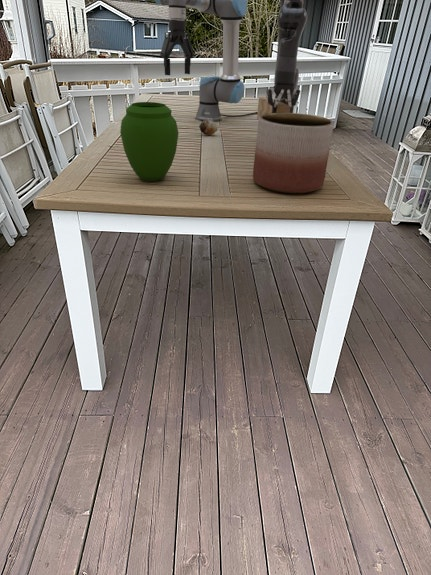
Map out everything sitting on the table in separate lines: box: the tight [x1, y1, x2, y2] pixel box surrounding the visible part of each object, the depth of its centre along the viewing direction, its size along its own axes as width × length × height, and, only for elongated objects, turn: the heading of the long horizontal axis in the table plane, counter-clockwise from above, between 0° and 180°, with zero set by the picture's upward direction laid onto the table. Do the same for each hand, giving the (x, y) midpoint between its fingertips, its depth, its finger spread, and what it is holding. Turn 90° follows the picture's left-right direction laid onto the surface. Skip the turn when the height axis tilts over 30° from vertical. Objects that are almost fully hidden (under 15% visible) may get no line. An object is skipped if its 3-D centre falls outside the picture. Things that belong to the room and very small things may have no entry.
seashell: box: [198, 119, 219, 136], centre depth 209 cm, size 10×6×8 cm, turn 97°
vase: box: [119, 101, 179, 182], centre depth 140 cm, size 20×20×24 cm
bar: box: [256, 96, 291, 121], centre depth 174 cm, size 25×5×9 cm, turn 14°
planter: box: [252, 112, 335, 194], centre depth 142 cm, size 25×25×22 cm
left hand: (177, 74), depth 190 cm, fingers open, 13 cm apart
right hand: (280, 116), depth 167 cm, fingers closed on bar, 4 cm apart
